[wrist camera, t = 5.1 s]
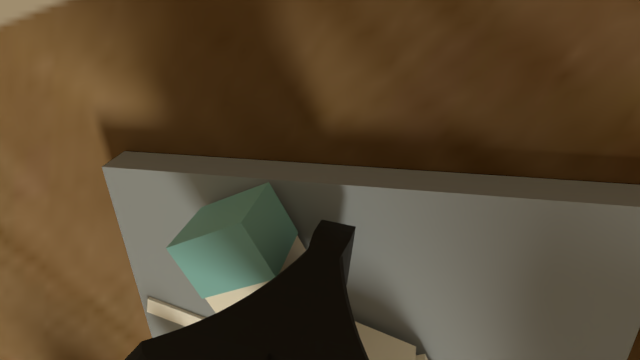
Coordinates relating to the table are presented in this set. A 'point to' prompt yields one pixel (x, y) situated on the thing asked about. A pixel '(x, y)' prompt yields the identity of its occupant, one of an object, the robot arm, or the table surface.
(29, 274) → the table surface
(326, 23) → the table surface
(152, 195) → the post board
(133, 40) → the table surface
